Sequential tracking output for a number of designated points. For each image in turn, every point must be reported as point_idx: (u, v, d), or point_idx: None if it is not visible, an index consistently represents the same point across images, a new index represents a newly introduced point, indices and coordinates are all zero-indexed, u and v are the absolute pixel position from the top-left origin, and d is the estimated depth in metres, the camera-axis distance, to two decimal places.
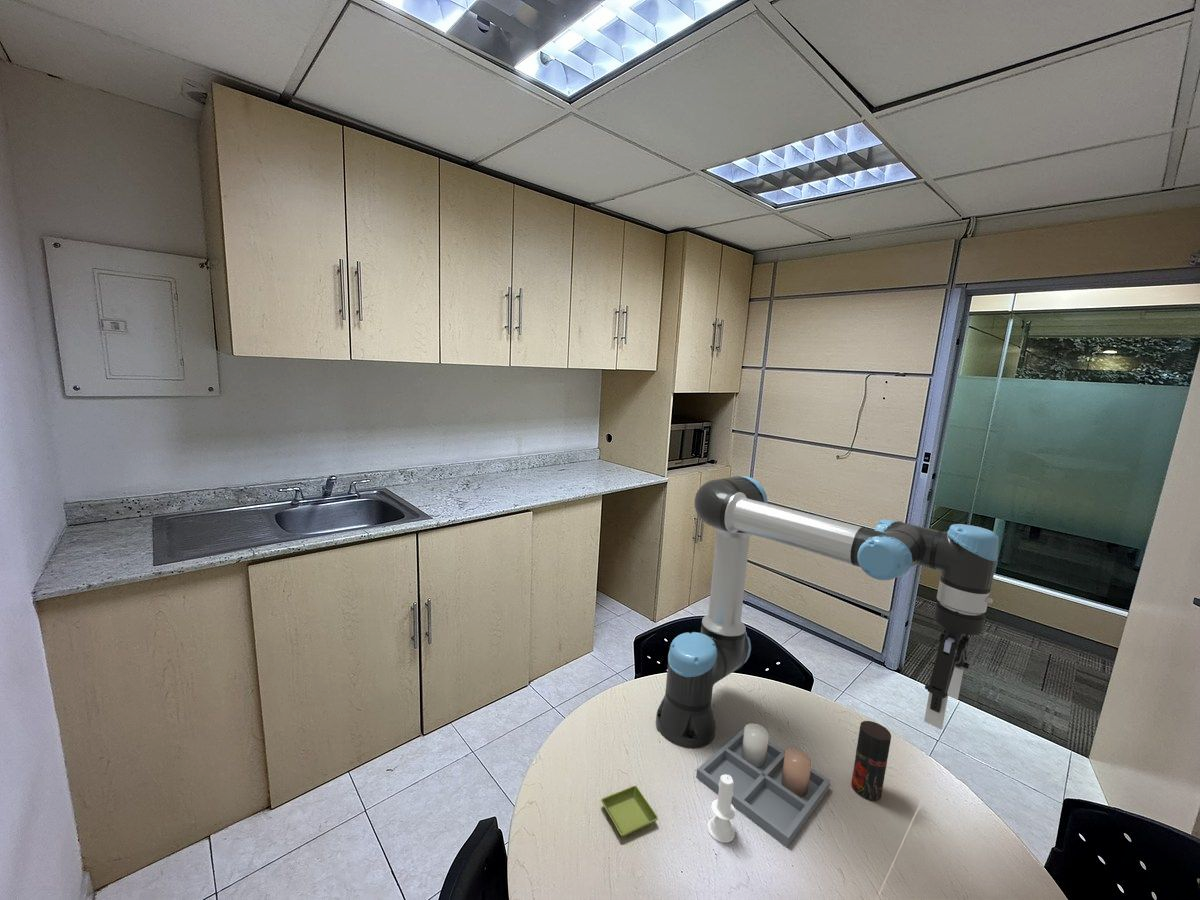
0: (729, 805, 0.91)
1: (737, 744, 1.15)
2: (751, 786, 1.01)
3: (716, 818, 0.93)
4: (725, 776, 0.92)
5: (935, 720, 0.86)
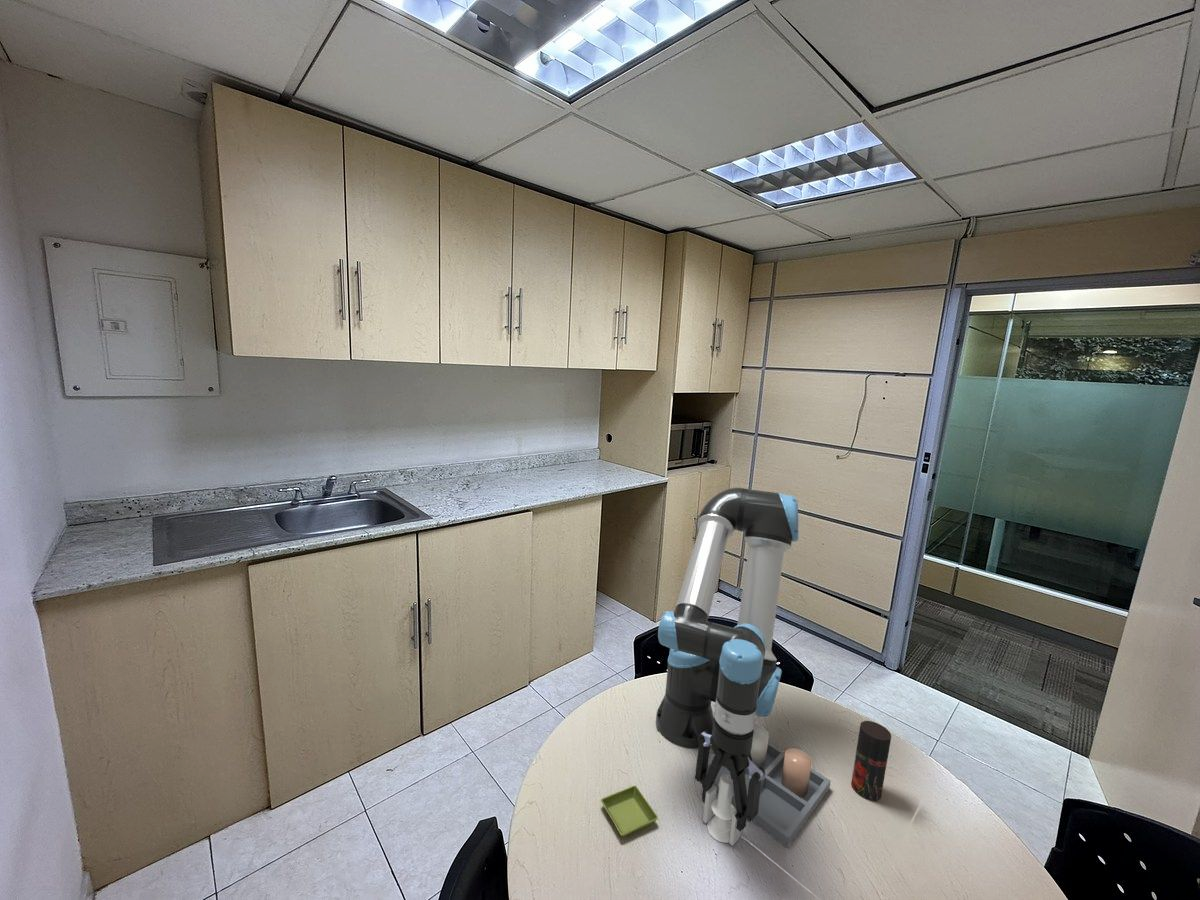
0: (729, 805, 0.91)
1: None
2: None
3: (716, 818, 0.93)
4: (725, 776, 0.92)
5: None
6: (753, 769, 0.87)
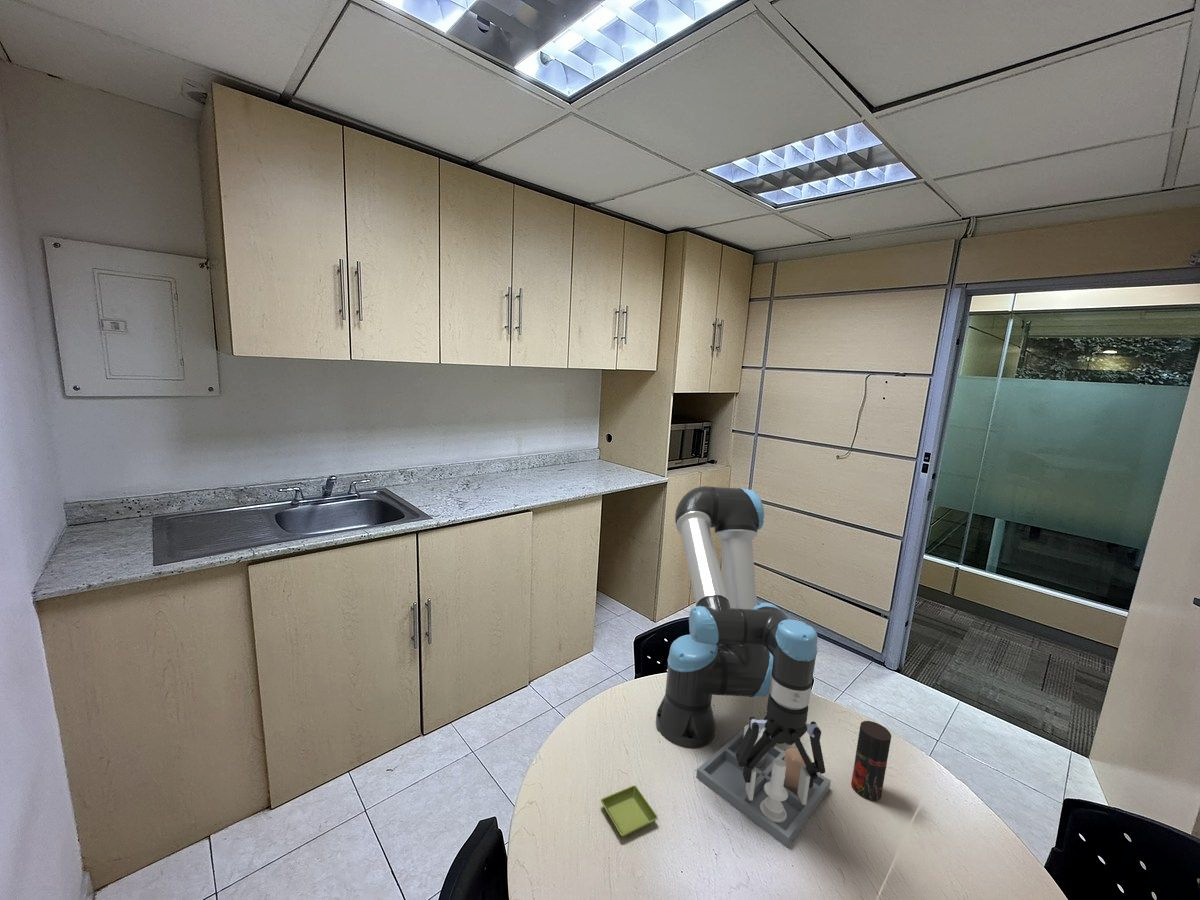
0: None
1: (737, 744, 1.15)
2: None
3: (772, 803, 0.97)
4: (776, 760, 0.97)
5: (748, 790, 0.97)
6: (811, 728, 0.95)
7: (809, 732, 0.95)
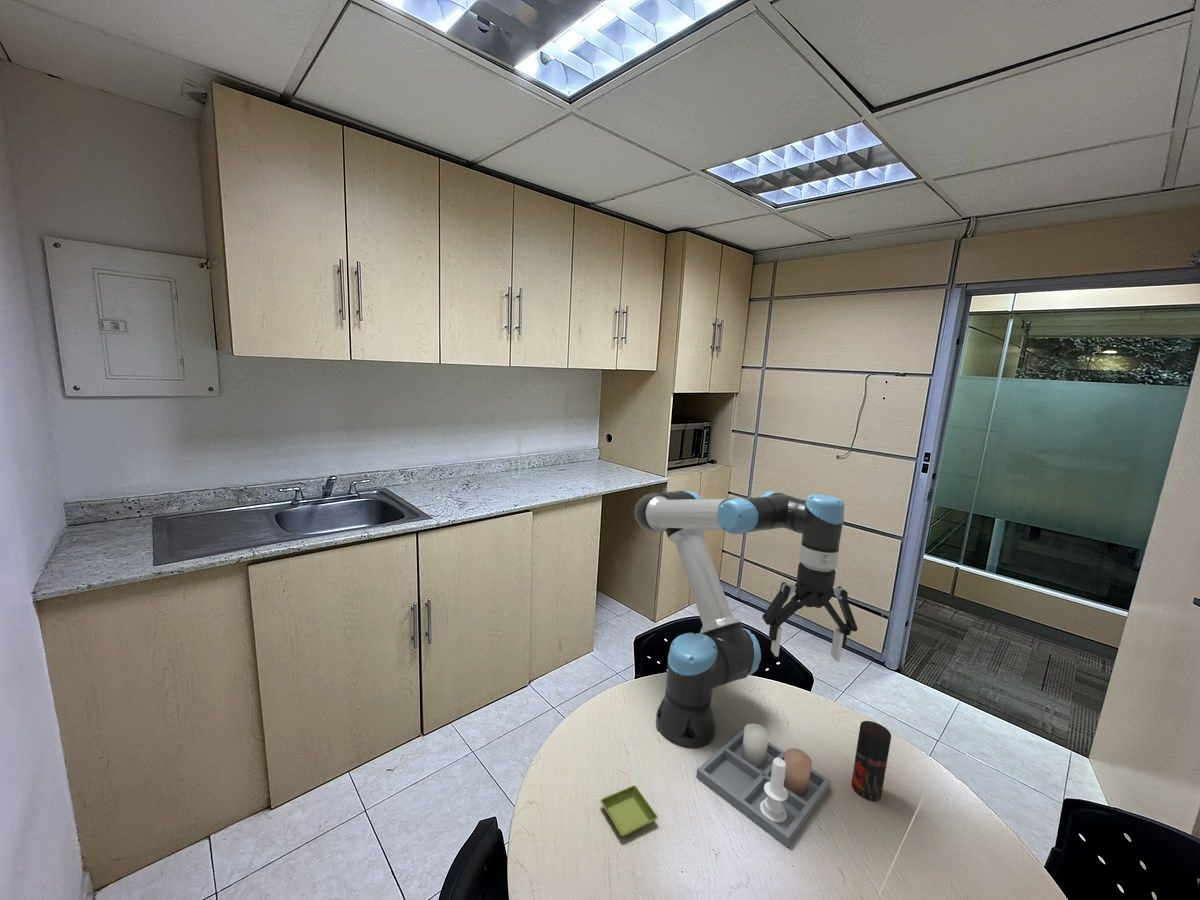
0: None
1: (737, 744, 1.15)
2: (751, 786, 1.01)
3: (772, 803, 0.97)
4: (776, 760, 0.97)
5: (773, 648, 1.06)
6: (838, 591, 1.03)
7: (837, 595, 1.03)
